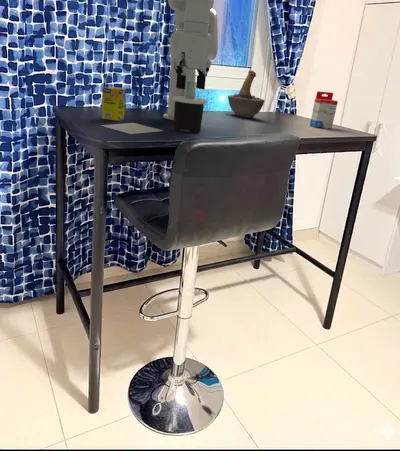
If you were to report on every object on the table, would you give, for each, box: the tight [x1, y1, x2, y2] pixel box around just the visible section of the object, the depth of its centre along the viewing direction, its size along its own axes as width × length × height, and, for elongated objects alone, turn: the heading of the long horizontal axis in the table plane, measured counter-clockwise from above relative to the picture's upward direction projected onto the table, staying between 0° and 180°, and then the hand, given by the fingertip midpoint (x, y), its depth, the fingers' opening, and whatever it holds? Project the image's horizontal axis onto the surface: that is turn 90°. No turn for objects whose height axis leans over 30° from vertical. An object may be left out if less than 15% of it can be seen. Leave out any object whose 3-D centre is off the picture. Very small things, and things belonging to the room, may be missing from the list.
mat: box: [100, 122, 164, 135], centre depth 132 cm, size 14×14×1 cm
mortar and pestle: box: [227, 69, 265, 119], centre depth 184 cm, size 15×17×20 cm
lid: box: [173, 81, 208, 105], centre depth 133 cm, size 11×11×6 cm
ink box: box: [309, 91, 339, 129], centre depth 180 cm, size 8×5×15 cm, turn 105°
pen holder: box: [173, 101, 205, 134], centre depth 136 cm, size 9×9×10 cm
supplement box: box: [101, 86, 126, 122], centre depth 142 cm, size 6×6×11 cm
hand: (190, 88), depth 132 cm, fingers open, 9 cm apart
